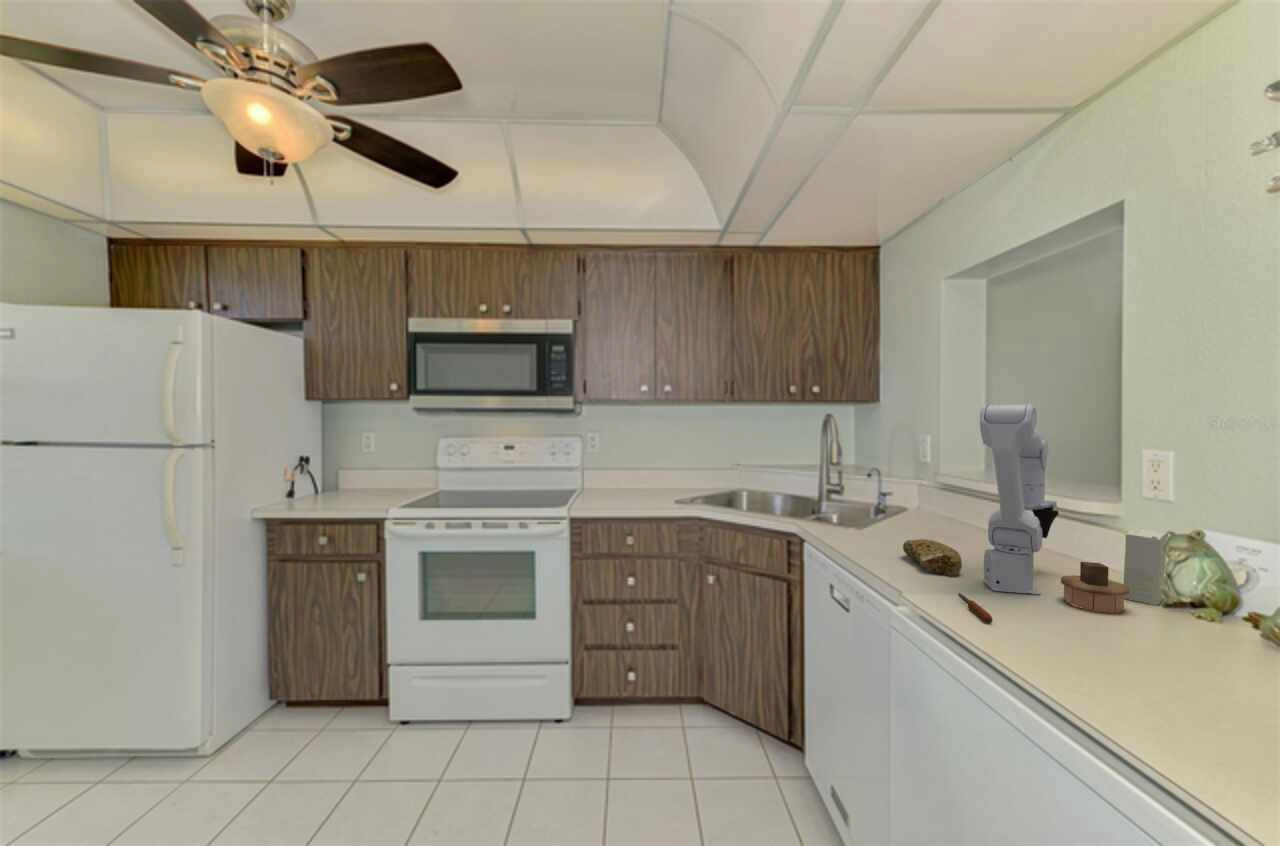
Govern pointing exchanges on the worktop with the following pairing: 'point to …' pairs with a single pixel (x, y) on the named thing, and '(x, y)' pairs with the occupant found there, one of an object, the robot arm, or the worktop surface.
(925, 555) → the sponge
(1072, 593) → the bowl
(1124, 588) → the lid
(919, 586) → the worktop surface
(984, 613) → the red handled screwdriver
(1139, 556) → the skincare box
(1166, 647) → the worktop surface
